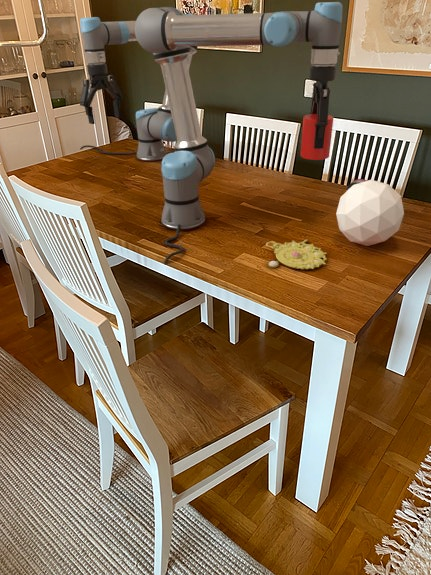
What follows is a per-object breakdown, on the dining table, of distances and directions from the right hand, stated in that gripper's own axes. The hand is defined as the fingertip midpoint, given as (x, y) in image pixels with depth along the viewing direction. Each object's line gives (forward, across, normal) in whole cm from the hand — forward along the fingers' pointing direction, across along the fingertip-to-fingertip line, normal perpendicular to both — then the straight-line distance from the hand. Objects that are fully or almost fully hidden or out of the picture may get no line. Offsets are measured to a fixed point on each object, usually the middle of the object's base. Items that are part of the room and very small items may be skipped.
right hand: (315, 143), depth 140 cm
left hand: (+2, +47, +79) cm, 92 cm away
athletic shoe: (+26, +11, -22) cm, 36 cm away
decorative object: (+26, -26, +8) cm, 38 cm away
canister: (+4, 0, 0) cm, 4 cm away
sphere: (+26, -17, -15) cm, 35 cm away
